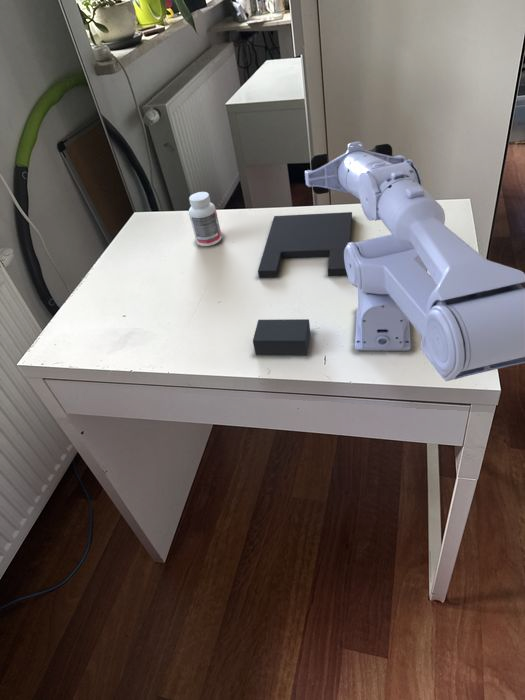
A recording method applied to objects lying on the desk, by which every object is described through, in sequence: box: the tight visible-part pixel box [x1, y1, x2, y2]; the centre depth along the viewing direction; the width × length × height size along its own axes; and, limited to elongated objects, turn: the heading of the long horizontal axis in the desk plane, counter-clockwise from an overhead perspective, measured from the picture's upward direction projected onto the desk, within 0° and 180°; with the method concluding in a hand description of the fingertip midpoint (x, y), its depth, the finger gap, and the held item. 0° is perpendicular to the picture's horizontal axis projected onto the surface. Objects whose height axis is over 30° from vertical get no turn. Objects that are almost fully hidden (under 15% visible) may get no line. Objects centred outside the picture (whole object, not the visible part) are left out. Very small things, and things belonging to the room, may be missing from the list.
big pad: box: [257, 211, 353, 279], centre depth 100 cm, size 20×16×2 cm
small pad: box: [252, 318, 312, 356], centre depth 80 cm, size 5×8×3 cm, turn 81°
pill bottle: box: [188, 191, 223, 247], centre depth 105 cm, size 5×5×10 cm
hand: (340, 162), depth 83 cm, fingers open, 7 cm apart
